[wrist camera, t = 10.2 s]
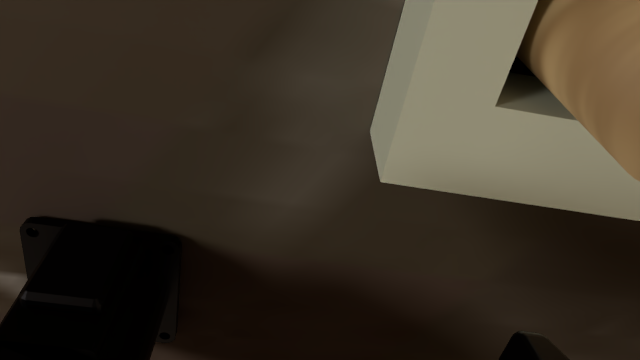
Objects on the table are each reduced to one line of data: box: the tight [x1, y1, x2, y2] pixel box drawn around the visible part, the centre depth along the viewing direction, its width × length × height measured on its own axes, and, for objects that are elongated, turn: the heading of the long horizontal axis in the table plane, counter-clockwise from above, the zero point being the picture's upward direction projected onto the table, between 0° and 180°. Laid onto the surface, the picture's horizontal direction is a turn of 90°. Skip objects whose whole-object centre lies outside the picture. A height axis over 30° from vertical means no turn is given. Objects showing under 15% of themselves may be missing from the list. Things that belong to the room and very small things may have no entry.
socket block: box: [370, 0, 640, 221], centre depth 16 cm, size 11×10×4 cm
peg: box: [516, 0, 640, 181], centre depth 14 cm, size 4×4×8 cm
